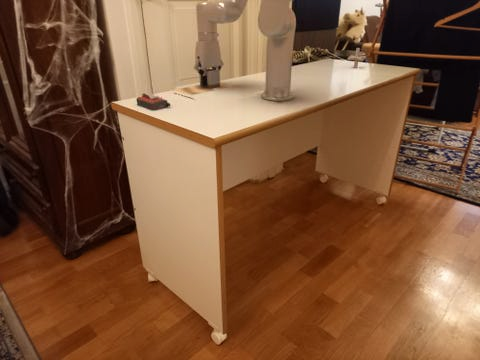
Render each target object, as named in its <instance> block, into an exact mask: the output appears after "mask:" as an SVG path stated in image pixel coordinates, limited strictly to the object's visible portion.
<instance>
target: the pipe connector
mask: <svg viewBox="0 0 480 360" xmlns="http://www.w3.org/2000/svg"><path fill="white" fill-rule="evenodd" d="M360 51H361V48H360V47H356V49H355V55H350V56H348V57H347V61H354V63H353V68H354V69H358V66H359V62H364V61H365V60H366V59H367V57H366V55H360Z"/></svg>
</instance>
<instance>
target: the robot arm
mask: <svg viewBox="0 0 480 360" xmlns="http://www.w3.org/2000/svg"><path fill="white" fill-rule="evenodd" d="M248 1H249V0H220V1H214V2H213V1H200V2H199V1H198V2H197V3H196V6H195V12H196V26H197V41H196V43H195V50H194V51H195V53H194V55H195V56H194V58H195V59H194V60H195V64H194V66H193V69H194V70H195V72H197V73H198V75H201V84H202V85H203V86H207V76H206V71H207V69H208V68H209V69H214V70H219V71H221V69H222V67H223V66H224V65H225V64H224V62H223V60H222V56H221V55H222V54H221V46H220V43H219V42H220V41H219V40H218V37H220V34H219V33H218V25H219V24H220V25H223V24H230V23H235V22H236V21H238V20H239V19H240V18H241V15H242V14H243V12H244V10H245V7H246V6H247V2H248ZM292 1H294V0H260V5H259V11H258V17H257V26H258V30H259V32H260V33H261V34H262V35H263V36H265V37H267V41H266V47H265V48H266V49H265V50H266V52H265V54H266V55H265V91H262V92H261V94H260V97H261V99H264V100H267V101H273V102H280V101H289V100H293V99H294V98H295V93H294V92H292V91H291V85H292V69H293V68H292V67H293V52H294V41H295V40H294V38H295V35H296V34H295V32H296V28H297V27H296V26H297V19H296V14H295V12H294V11H293V9H292V8H291V7H290V4H291V2H292Z"/></svg>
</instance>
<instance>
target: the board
mask: <svg viewBox="0 0 480 360" xmlns="http://www.w3.org/2000/svg"><path fill="white" fill-rule="evenodd" d="M231 87H234V85H232V84H229V83H228V84H227V83H224V82H220V87H217V88H212V89H210V88H206V87H202V86H200V84H196V85H192V86H187V87H182V88H176V89H174V92H173V95H177V94H178V96H180V95H181V97H184V98H186V99H190V100H194V99H195V98H193V97H190V96H193V95H198V94H203V93H208V92H212V91H217V90H222V89H227V88H231ZM177 92H180V93H183V94H187V95H190V96H187V95H183V94H180V93H177Z"/></svg>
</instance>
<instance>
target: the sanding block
mask: <svg viewBox="0 0 480 360" xmlns="http://www.w3.org/2000/svg"><path fill="white" fill-rule="evenodd" d="M220 71H221V70H220ZM220 71H219V70H214V69H212V68H207V71H206V76H207V86H203V85H202V84H201V75H199V74H198V75H199V85H200V86H202V87H206V88H210V89H212V88H217V87H220V83H221V75H220Z"/></svg>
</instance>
